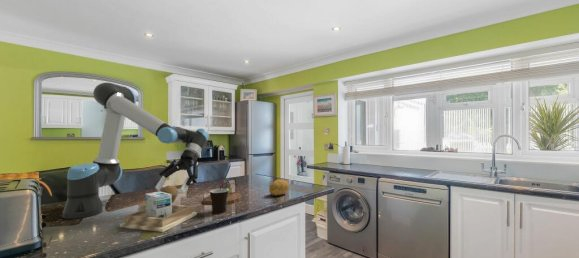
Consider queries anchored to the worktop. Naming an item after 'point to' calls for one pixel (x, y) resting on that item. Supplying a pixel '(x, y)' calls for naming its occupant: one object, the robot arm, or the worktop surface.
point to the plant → (232, 196)
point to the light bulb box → (158, 204)
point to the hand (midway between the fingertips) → (169, 190)
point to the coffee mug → (219, 200)
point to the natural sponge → (171, 191)
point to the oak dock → (158, 219)
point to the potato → (278, 187)
